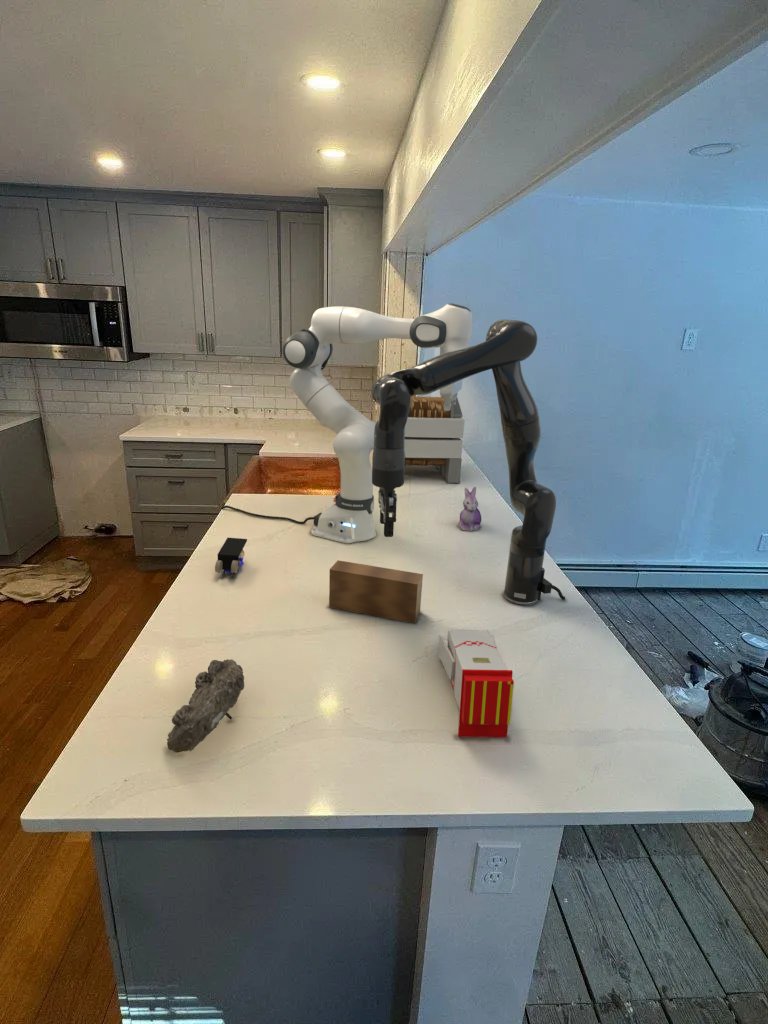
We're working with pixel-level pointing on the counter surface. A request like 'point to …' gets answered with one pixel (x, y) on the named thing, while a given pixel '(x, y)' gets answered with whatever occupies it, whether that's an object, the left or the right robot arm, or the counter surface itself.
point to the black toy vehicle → (230, 556)
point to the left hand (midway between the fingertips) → (449, 408)
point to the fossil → (206, 705)
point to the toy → (478, 682)
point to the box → (375, 591)
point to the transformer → (434, 436)
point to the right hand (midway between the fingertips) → (386, 529)
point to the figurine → (470, 512)
